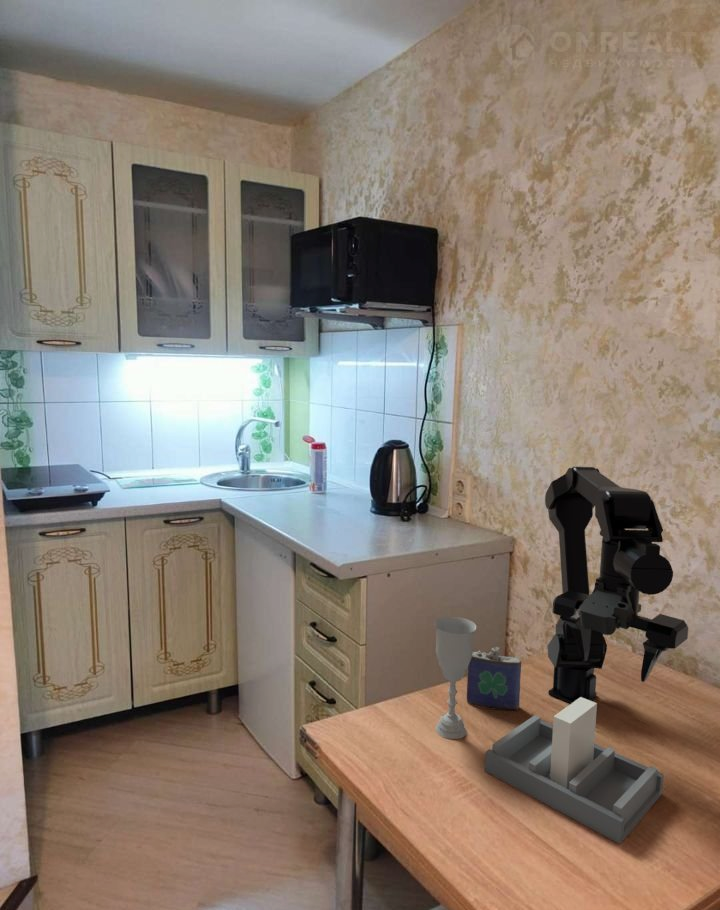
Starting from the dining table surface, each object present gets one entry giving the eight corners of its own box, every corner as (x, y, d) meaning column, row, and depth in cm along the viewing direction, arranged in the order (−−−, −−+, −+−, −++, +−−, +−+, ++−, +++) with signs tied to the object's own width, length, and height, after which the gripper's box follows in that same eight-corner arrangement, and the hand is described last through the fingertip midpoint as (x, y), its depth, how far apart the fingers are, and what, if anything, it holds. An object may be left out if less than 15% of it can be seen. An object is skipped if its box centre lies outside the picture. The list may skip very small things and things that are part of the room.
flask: (519, 705, 110) (522, 647, 109) (518, 713, 108) (521, 654, 106) (467, 697, 113) (469, 640, 112) (465, 705, 110) (467, 647, 109)
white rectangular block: (549, 783, 87) (553, 716, 86) (576, 760, 93) (580, 696, 92) (566, 792, 86) (570, 723, 84) (592, 767, 91) (597, 703, 90)
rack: (484, 770, 91) (485, 745, 91) (534, 734, 101) (535, 711, 101) (619, 844, 77) (621, 814, 77) (662, 794, 87) (664, 767, 87)
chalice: (426, 718, 105) (429, 616, 103) (465, 717, 106) (469, 616, 104) (435, 743, 98) (439, 634, 96) (477, 742, 99) (482, 633, 97)
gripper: (537, 568, 95) (532, 665, 97) (664, 600, 82) (655, 712, 84) (571, 555, 103) (566, 645, 105) (693, 583, 90) (684, 685, 92)
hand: (613, 670), depth 96 cm, fingers open, 9 cm apart
